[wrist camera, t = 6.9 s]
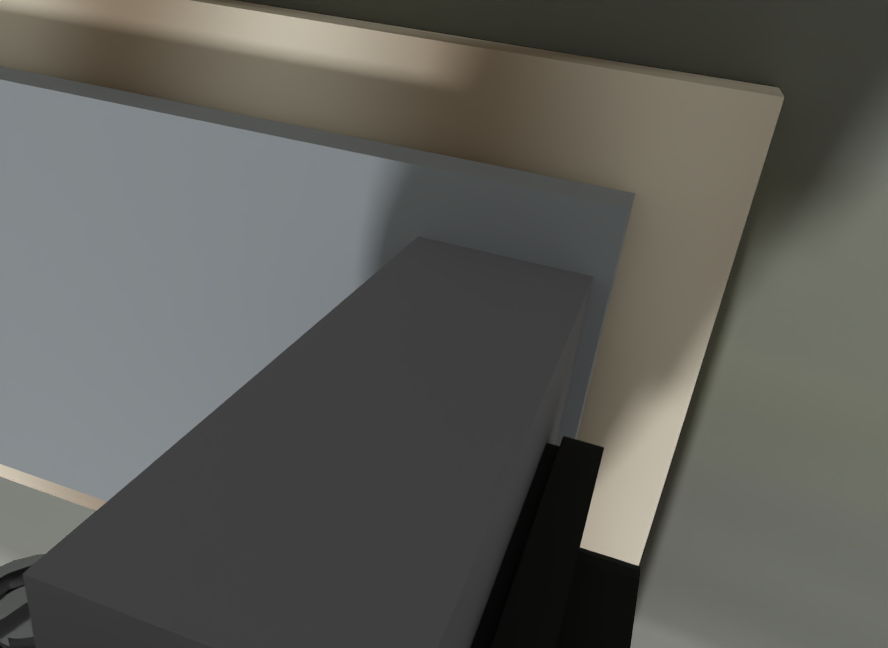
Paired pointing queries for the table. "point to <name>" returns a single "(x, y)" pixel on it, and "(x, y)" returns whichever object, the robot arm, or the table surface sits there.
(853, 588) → the table surface
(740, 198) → the board
